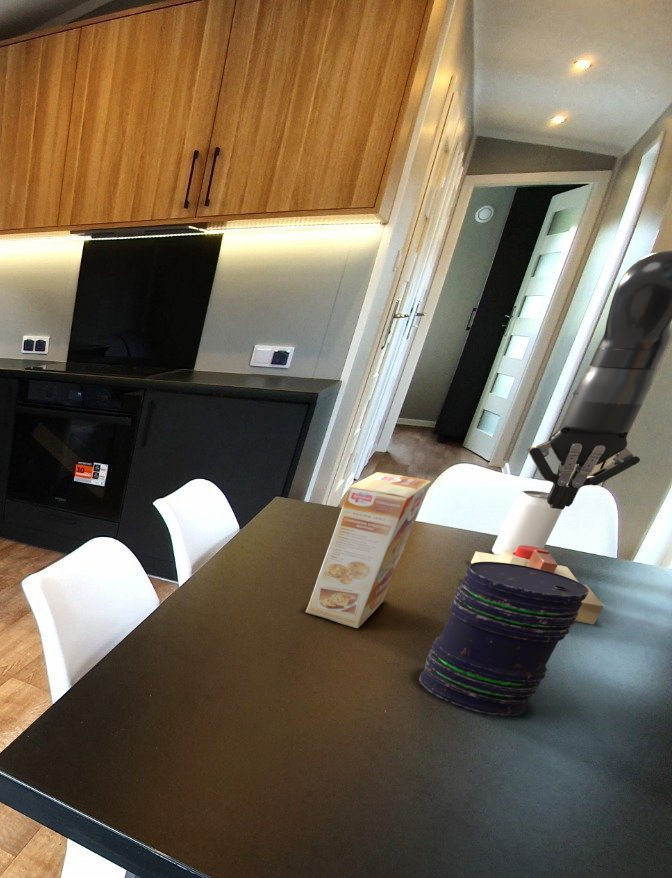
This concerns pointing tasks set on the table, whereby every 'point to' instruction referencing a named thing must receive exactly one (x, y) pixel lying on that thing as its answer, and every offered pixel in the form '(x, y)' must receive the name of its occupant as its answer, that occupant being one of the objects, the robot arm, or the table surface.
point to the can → (527, 523)
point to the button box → (516, 561)
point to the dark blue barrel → (501, 636)
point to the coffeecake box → (366, 547)
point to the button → (525, 551)
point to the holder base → (589, 608)
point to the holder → (542, 561)
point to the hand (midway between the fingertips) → (556, 507)
